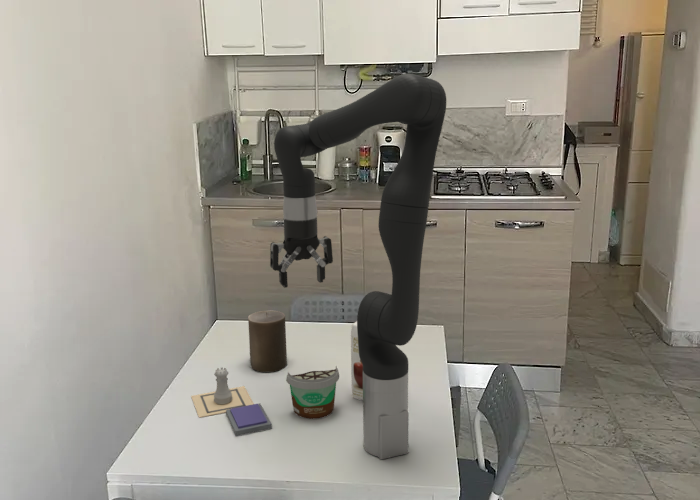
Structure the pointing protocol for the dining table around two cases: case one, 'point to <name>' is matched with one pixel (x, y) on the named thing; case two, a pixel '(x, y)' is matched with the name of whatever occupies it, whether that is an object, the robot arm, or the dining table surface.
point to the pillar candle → (267, 341)
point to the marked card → (209, 407)
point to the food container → (313, 393)
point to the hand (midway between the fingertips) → (302, 284)
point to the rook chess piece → (222, 387)
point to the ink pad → (248, 419)
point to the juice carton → (356, 365)
